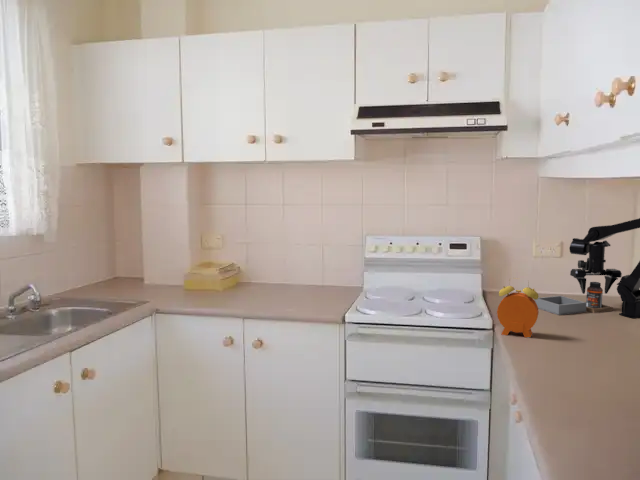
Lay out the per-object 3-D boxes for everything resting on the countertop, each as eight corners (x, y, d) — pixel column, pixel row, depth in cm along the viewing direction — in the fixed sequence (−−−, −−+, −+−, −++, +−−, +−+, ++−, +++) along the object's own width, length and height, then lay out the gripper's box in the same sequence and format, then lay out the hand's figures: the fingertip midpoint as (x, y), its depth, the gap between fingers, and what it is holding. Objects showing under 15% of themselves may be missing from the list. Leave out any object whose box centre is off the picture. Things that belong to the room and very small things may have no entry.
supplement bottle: (585, 309, 228) (586, 283, 227) (585, 306, 233) (587, 280, 232) (601, 311, 225) (603, 284, 224) (601, 308, 231) (603, 281, 229)
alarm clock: (537, 334, 194) (540, 278, 191) (536, 338, 188) (538, 281, 186) (498, 329, 200) (500, 275, 197) (496, 334, 194) (498, 278, 192)
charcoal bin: (586, 312, 224) (586, 302, 224) (558, 315, 220) (559, 305, 219) (560, 304, 237) (561, 295, 237) (534, 307, 233) (534, 298, 232)
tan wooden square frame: (612, 310, 226) (612, 307, 226) (593, 312, 223) (594, 309, 223) (593, 305, 236) (593, 302, 235) (575, 307, 232) (575, 303, 232)
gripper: (609, 253, 235) (607, 289, 236) (565, 253, 235) (563, 289, 237) (623, 257, 223) (621, 295, 225) (577, 257, 224) (575, 295, 226)
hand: (594, 293), depth 228 cm, fingers open, 9 cm apart
